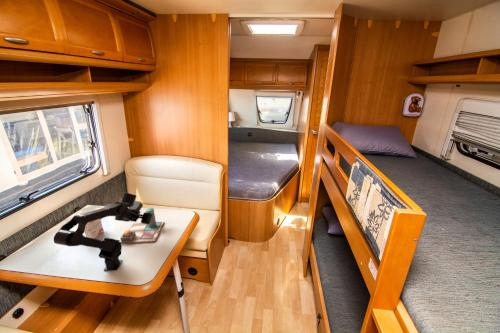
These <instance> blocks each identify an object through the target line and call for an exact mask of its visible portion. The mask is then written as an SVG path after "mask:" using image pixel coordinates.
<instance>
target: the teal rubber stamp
mask: <svg viewBox="0 0 500 333" xmlns="http://www.w3.org/2000/svg"><path fill="white" fill-rule="evenodd" d="M145 212H146V213H151V214H152V217H151V222H150V223H149V228H155V227H156V222H157V221H156V215H155V208H154V207H149V208H146V210H145Z"/></svg>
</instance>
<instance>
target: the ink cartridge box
mask: <svg viewBox="0 0 500 333" xmlns="http://www.w3.org/2000/svg"><path fill="white" fill-rule="evenodd" d="M103 232H104V227H103V224H102V221H101V219H98V220H94V221H91V222H88V223H87V224H86V226H85V231H84V236H85V237H89V238H93V239H96V237H97V236H99V235H100V234H101V233H103Z"/></svg>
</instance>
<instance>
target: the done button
mask: <svg viewBox="0 0 500 333" xmlns="http://www.w3.org/2000/svg"><path fill="white" fill-rule="evenodd" d="M123 234H125V237H130V236H131V233H130V230H129V229H128V230H124V232H123Z"/></svg>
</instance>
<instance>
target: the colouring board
mask: <svg viewBox="0 0 500 333" xmlns="http://www.w3.org/2000/svg"><path fill="white" fill-rule="evenodd" d="M164 225H165V221H156V227H155V228H149V224H143V223H141V222H134V223H133V224H132V225H131V226H130V228H129V229H128V230H130V233H131V236H130V237H125V234H124V233H123V234H122V235H121V237H120V239H119V240H120V242H121V245H131V244H145V243H147V244H148V243H156V242H157V239H158V237H159V236H160V233H161V232H162V229H163V227H164Z"/></svg>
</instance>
